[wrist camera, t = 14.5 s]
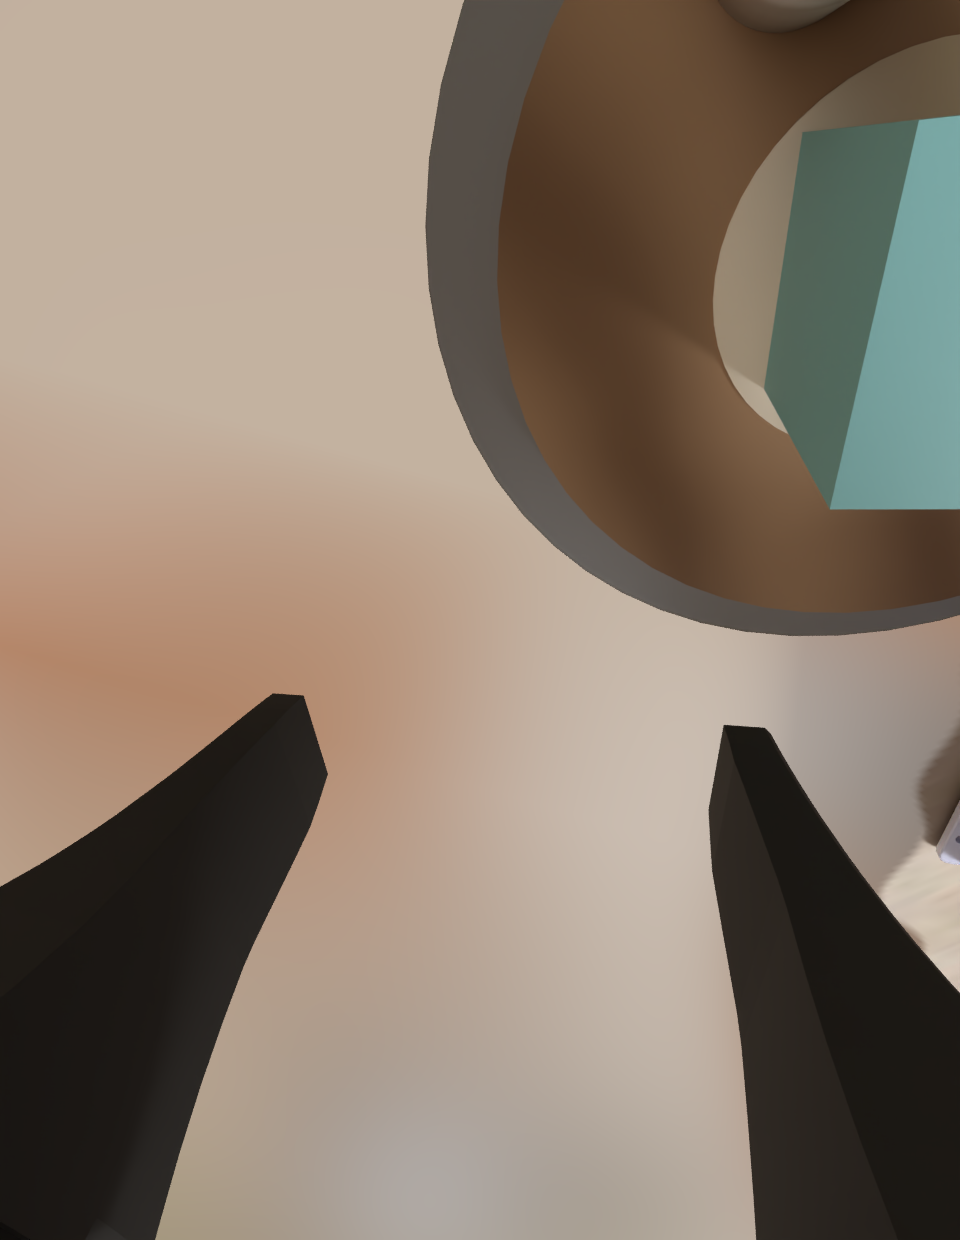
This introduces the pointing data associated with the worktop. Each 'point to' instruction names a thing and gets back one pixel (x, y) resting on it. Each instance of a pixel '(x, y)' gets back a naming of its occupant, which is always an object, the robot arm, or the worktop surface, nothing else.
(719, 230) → the turntable
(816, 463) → the link block
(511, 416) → the turntable base
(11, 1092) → the robot arm
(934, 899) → the worktop surface
